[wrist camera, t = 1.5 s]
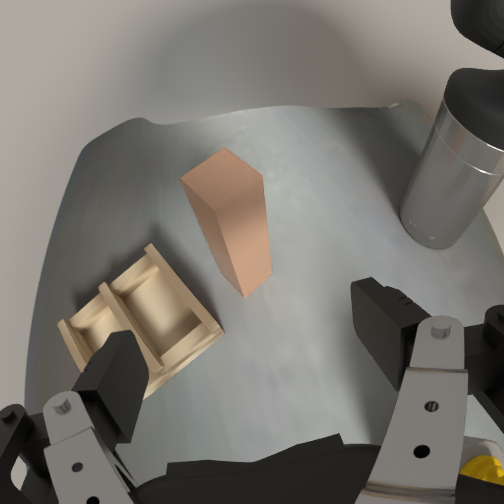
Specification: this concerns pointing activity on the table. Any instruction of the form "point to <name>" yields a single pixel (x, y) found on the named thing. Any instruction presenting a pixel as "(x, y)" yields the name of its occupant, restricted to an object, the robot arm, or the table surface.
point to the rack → (145, 319)
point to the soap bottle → (482, 460)
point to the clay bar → (232, 217)
